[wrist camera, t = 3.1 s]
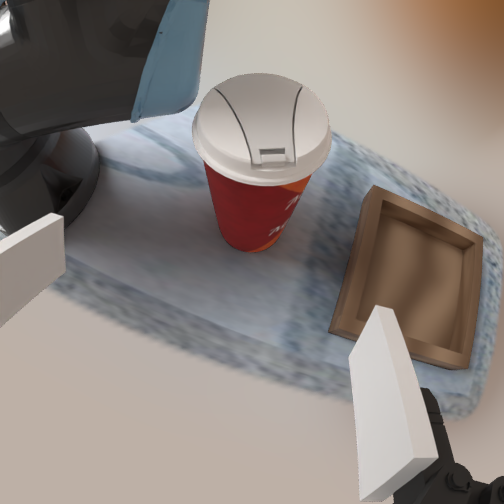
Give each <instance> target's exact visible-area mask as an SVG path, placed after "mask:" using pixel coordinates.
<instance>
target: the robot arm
mask: <svg viewBox="0 0 504 504" xmlns="http://www.w3.org/2000/svg"><path fill="white" fill-rule="evenodd" d="M5 1H7V4H8V5H6V4H5ZM209 2H210V0H0V231H1V232H2V233H4V234H5V235H6V236H8V237H6V238H4V239H3V240H1V241H0V328H1V327H2V326H3V325H4V324H5V323H6V322H7V321H8V320H9V319H11V318H12V317H13V316H14V315H15V314H16V313H17V312H18V311H19V310H21V309H22V308H23V307H24V306H25V305H26V304H28V303H29V302H30V301H31V300H32V299H33V298H34V297H36V296H37V295H38V294H39V293H40V292H42V290H44V289H45V288H46V287H48V286H49V285H50V284H51V283H52V282H54V281H55V280H56V279H57V278H59V277H60V276H61V275H62V274H64V273H65V272H66V267H65V249H64V228H65V227H67V226H68V225H69V224H70V223H71V222H72V221H73V220H74V219H75V218H76V217H77V216H78V215H79V213H80V212H81V211H82V209H83V208H84V207H85V205H86V204H87V202H88V200H89V199H90V197H91V195H92V193H93V191H94V188H95V186H96V183H97V179H98V175H99V166H100V163H99V155H98V151H97V149H96V147H95V145H94V143H93V141H92V140H91V138H90V136H89V135H88V133H87V132H86V131H85V130H84V129H83V128H82V127H87V126H93V125H99V124H105V123H111V122H119V121H126V120H130V121H131V123H135V122H138V121H139V120H140V119H143V118H149V117H156V116H163V115H171V114H176V113H179V112H182V111H184V110H185V109H187V108H188V107H189V106H190V105H191V104H192V103H193V102H194V100H195V99H196V97H197V94H198V90H199V83H200V74H201V64H202V56H203V47H204V38H205V30H206V23H207V16H208V9H209ZM348 359H349V367H350V375H351V384H352V393H353V403H354V414H355V425H356V438H357V453H358V469H359V494H360V501H364V502H382V501H384V500H385V499H386V498H388V497H389V496H391V495H392V494H393V497H394V503H393V504H504V476H501V477H498V478H496V479H495V480H494V481H493V482H491V483H490V484H486V483H482V482H478V481H474V480H473V479H472V476H471V475H470V472H469V471H468V470H467V469H466V468H465V467H464V466H462V465H460V464H458V463H455V461H454V458H453V454H452V450H451V447H450V443H449V440H448V436H447V432H446V429H445V426H444V425H443V423H444V422H443V419H442V415H440V413H441V412H440V409H439V406H438V403H437V400H436V399H435V397H434V396H433V394H432V393H431V392H430V390H429V389H428V388H420V386H419V383H418V380H417V377H416V374H415V370H414V367H413V364H412V361H411V358H410V355H409V352H408V349H407V347H406V344H405V341H404V338H403V335H402V332H401V330H400V327H399V324H398V322H397V319H396V316H395V314H394V311H393V309H390V308H386V307H382V306H378V305H375V307H374V309H373V311H372V313H371V315H370V317H369V319H368V321H367V323H366V325H365V327H364V329H363V331H362V333H361V335H360V337H359V339H358V340H357V342H356V344H355V346H354V348H353V350H352V351H351V353H350V355H349V357H348Z"/></svg>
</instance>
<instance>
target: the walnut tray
mask: <svg viewBox="0 0 504 504" xmlns="http://www.w3.org/2000/svg"><path fill="white" fill-rule="evenodd" d="M482 256H483V237H482V236H480V235H478V234H476V233H474V232H472V231H471V230H469V229H467V228H465V227H463V226H461V225H459V224H457V223H455V222H453V221H451V220H449V219H447V218H445V217H443V216H441V215H439V214H437V213H435V212H433V211H431V210H429V209H427V208H425V207H422V206H420V205H418V204H416V203H414V202H412V201H410V200H407V199H405V198H403V197H401V196H398V195H396V194H394V193H392V192H389V191H387V190H385V189H382V188H380V187H378V186H375V185H373V186H372V188H371V189H370V191H369V192H368V193H367V195H366V196H365V197H364V199H363V203H362V207H361V212H360V216H359V220H358V225H357V229H356V233H355V237H354V241H353V245H352V249H351V253H350V257H349V261H348V265H347V268H346V272H345V276H344V280H343V283H342V287H341V290H340V294H339V297H338V301H337V304H336V308H335V311H334V314H333V318H332V321H331V324H330V327H329V330H328V332H329V333H332V334H335V335H338V336H341V337H344V338H347V339H350V340H353V341H356V342H357V340H358V339H359V337H360V335H361V333H362V331H363V329H364V327H365V325H366V323H367V321H368V319H369V317H370V315H371V313H372V311H373V309H374V307H375V305H378V306H382V307H386V308H390V309H393V311H394V314H395V316H396V319H397V322H398V324H399V327H400V330H401V332H402V335H403V338H404V341H405V344H406V347H407V349H408V352H409V355H410V358H411V359H414V360H417V361H421V362H424V363H427V364H431V365H434V366H438V367H441V368H445V369H448V370H458V369H468V366H469V361H470V356H471V351H472V346H473V340H474V334H475V328H476V321H477V314H478V306H479V297H480V286H481V274H482Z"/></svg>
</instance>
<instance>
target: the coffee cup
mask: <svg viewBox="0 0 504 504" xmlns="http://www.w3.org/2000/svg"><path fill="white" fill-rule="evenodd" d="M192 137H193V142H194V145H195V148H196V150H197V152H198V153H199V155H200V157H201V158H202V159H203V161H204V166H205V170H206V175H207V179H208V184H209V188H210V192H211V197H212V201H213V205H214V209H215V213H216V217H217V221H218V225H219V228H220V231H221V233H222V235H223V237H224V239H225V240H226V241H227V242H228V243H229V244H230V245H231V246H232V247H234V248H236V249H238V250H240V251H244V252H259V251H263V250H265V249H267V248H269V247H270V246H271V245H273V244H274V243H275V242H276V241H277V239H278V238H279V236H280V235H281V233H282V231H283V230H284V228H285V226H286V224H287V222H288V220H289V218H290V216H291V214H292V212H293V211H294V209H295V207H296V205H297V203H298V201H299V199H300V197H301V195H302V193H303V191H304V189H305V187H306V185H307V183H308V181H309V179H310V177H311V175H312V173H313V172H315V171H316V170H317V169H318V168H319V167H320V166H321V165H322V164H323V162H324V161H325V160H326V158H327V156H328V154H329V151H330V148H331V143H332V135H331V130H330V126H329V119H328V115H327V112H326V110H325V107H324V105H323V104H322V102H321V101H320V99H319V98H318V97H317V96H316V95H315V94H314V93H313V92H312V91H311V90H310V89H309V88H307V87H306V86H303V85H302V84H300V83H298V82H296V81H293V80H291V79H288V78H286V77H282V76H279V75H274V74H264V73H254V74H244V75H239V76H236V77H233V78H230V79H228V80H226V81H224V82H222V83H220V84H218V85H217V86H215V87H214V88H212V89H211V90H210V91H209V92H208V93H207V95H206V96H205V97H204V99H203V101H202V102H201V105H200V108H199V109H198V111H197V113H196V115H195V117H194V120H193V124H192Z"/></svg>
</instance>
